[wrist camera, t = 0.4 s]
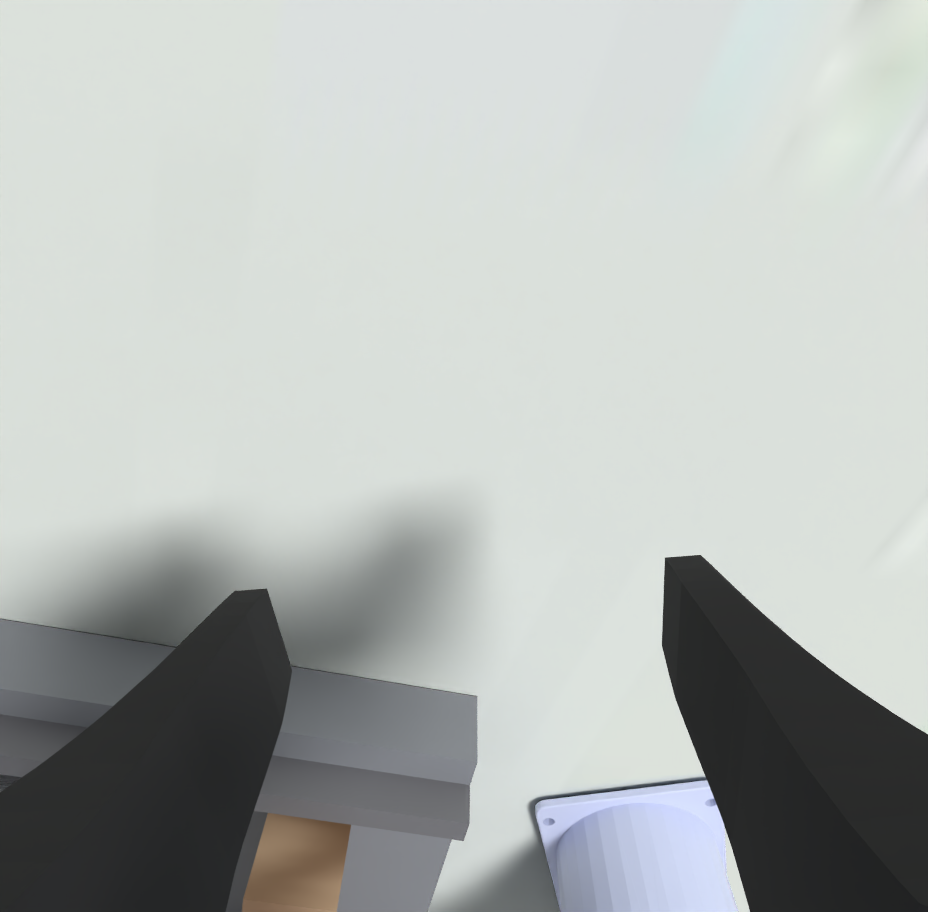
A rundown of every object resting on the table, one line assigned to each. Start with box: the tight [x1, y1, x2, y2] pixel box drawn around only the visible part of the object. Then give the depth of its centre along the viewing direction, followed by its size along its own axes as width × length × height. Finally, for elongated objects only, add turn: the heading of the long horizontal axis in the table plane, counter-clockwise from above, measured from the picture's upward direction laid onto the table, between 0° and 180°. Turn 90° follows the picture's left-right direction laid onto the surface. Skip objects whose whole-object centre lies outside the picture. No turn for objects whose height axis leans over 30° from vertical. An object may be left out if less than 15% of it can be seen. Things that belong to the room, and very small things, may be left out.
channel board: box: [0, 619, 477, 912], centre depth 28 cm, size 20×15×4 cm
